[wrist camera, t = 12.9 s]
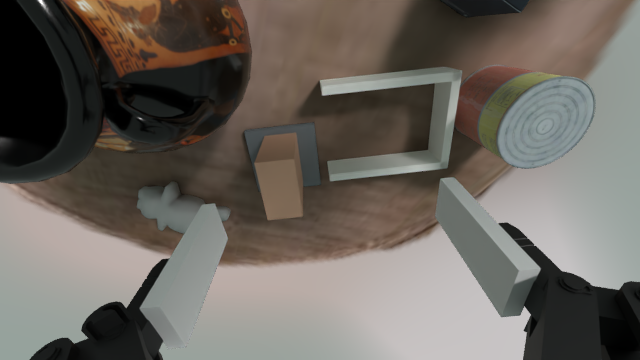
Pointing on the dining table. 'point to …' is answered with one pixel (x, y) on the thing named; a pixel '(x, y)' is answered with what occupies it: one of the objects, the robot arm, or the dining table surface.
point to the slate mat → (305, 147)
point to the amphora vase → (114, 78)
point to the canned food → (524, 113)
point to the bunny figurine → (172, 206)
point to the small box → (485, 6)
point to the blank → (280, 176)
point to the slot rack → (439, 129)
